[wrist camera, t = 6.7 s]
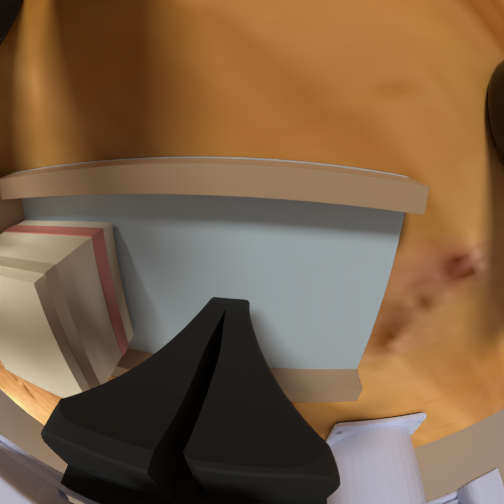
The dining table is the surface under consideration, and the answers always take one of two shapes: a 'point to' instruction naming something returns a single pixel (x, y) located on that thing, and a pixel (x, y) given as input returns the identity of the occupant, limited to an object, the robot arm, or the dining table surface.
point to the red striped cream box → (62, 304)
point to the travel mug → (7, 15)
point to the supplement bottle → (497, 108)
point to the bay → (240, 250)
